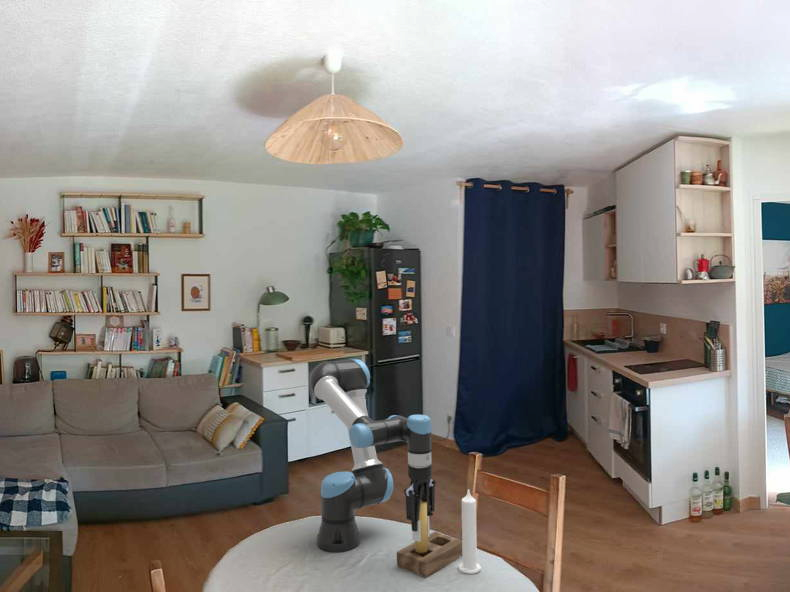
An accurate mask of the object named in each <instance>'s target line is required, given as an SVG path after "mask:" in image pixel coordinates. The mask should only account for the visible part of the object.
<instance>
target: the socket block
mask: <svg viewBox="0 0 790 592" xmlns="http://www.w3.org/2000/svg"><path fill="white" fill-rule="evenodd" d="M460 556H461V557H462V539H458V538H455V537H453V536H449V535H447V534H444V533H441V532H437V531H433V532H432V533H430V537H428V551H427V552H424V553H419V552H416V551H415V541H414V542H412V543H411V544H408V545H407V546H405V547H402V548H401V549H399V550H398V551H396V567H399V568H401V569H404V570H406V571H409V572H410V573H411V572H412V573H414V574H417V575H419V576H421V577H424V578H426V579H427V578H429V577H431V576H432V575H433V574H435V573H437V572H438V571H440V570H442V569H443V568H445V567H446V566H448V565H450V564H451V563H452V561H453V562H454V561H456V560H457V558H458V559H459V558H461V557H460ZM455 559H456V560H455Z"/></svg>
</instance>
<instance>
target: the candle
mask: <svg viewBox="0 0 790 592" xmlns="http://www.w3.org/2000/svg"><path fill="white" fill-rule="evenodd" d="M461 540H462V556H461V557H462V558H461V559H462V561H461V562H460V563H459V564H458V567H457V568H458V570H459V572H461V573H463V574H466V575H475V574H478V573H480V572H481V570H482V566H481V565H480V564H479V563H478V556H477V555H478V550H477V549H478V548H477V545H478V544H477V500H476V498H474V497H473V496H472V495H471V491H470V489H467V493H466V495H465V496H464V497H463V498H461Z"/></svg>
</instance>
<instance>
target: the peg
mask: <svg viewBox="0 0 790 592" xmlns="http://www.w3.org/2000/svg"><path fill="white" fill-rule="evenodd" d="M419 520H420V529H421V541H420V542H418V541H415V540H414V542H415V551H416V552H419V553H424V552H427V551H428V535H427V502H425V501H420V510H419Z"/></svg>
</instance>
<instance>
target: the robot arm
mask: <svg viewBox="0 0 790 592" xmlns="http://www.w3.org/2000/svg"><path fill="white" fill-rule="evenodd" d="M370 379H371V374H370V370H369V367H368V366H367V365H366V363H365V362H364V361H362V360H361V359H352V358H349V359H341V360H333V361H331V360H330V361H328V360H327V361H324V362H323V361H322V362H321V363H319V364H317V365H316V366H315V367H314V368H313V369H312V371H311V373H310V375H309V388H310V389H311V392H312V394H313V395H314V396H315V397H316V398H317V399H318V400H322V401H323V402H324V403H325V404H326V405H327V406H328V407H329V409H330V410H331V411H332V412H333V413H334V414H335V415H336V417H337V418H338V419H339V420H340V421H341V422H342V423H343V424H344V425H345V427H346V428H347V433H348V437H349V443H350V447H351V451H352V452H351V453H352V458H353V464H354V466H353V467H352V469H351V471H348V470H347V471H346V470H345V471H336V472H332V473H330V474H327V475H326V476H325V477H324V478H323V479H322V481H321V487H320V501H321V503H320V506H321V507H320V508H321V515H320V516H321V521H320V522H321V523H320V525H319V529H318V533H317V535H316V545H317V548H319V549H321V550H323V551H326V552H331V553H332V552H333V553H337V552H339V553H340V552H346V551H351V550H352V549H355V548H357V547H358V546H359V545H360V544H361V533H360V531H359V528H358V524H357V521H356V517H355V516H356V510H358V509H363V508H367V507H370V506H374V505H380V504H383V503H384V502H387V501H388V500H389V499H390V498H391V496H392V493H393V492H394V491H393V490H394V478H393V476H392V473H391V472H390V469H388V468H386V467H384V463H383V462H382V461H380V460H379V459H378V456H377V452H376V447H375V446H379V445H385V444H390V443H395V442H404V443H406V444H407V463H408V465H407V470H408V471H407V473H408V478H409V479H410V483H409V487H408V488H405V489H404V490H403V492H404V496H405V509H406V510H405V511H406V512H405V513H406V520H408V521H411V532H412V533H411V534H412V541H414V542H415V541H418V542H420V541H421V529H420V520H419V510H420V501H425V502H427V535H428V537H430V534H431V533H430V532H431V531H430V524H431V517H432V516H433V515H434V513H433V512H435V503H436V501H435V488H436V480H434V479H431V478H432V477H433V466H432V464H433V463H432V422H431V421H432V420H431V418H430V416H428V415H426V414H411V415H409V416H408V417H404V416H402V415H395V414H393V415H390V416H388V418H386V419H382V420H373V419H372V418H371V417H369V415H368V409H367V404H366V400H365V399H366V398H365V395H366V393H367V391H368V389H367V388H368V387H369V385H370V383H371V381H370Z"/></svg>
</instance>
